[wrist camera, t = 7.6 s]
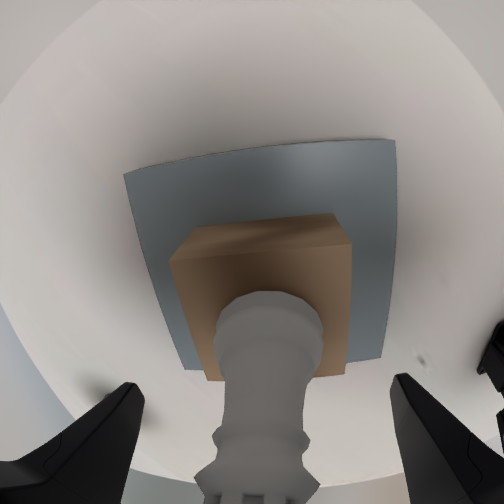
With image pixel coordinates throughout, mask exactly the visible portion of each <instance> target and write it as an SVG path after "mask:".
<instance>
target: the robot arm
mask: <svg viewBox="0 0 504 504" xmlns="http://www.w3.org/2000/svg"><path fill="white" fill-rule="evenodd" d="M486 372H487V374H488V376H489V378H490V379H491V381H492V383H493V385H494V386H495V388H496V390H497V392H501V394H502V396H503V398H504V322H501V323H499V324H498V325H497V327H496V329H495V332H494V334H493V336H492V339H491V341H490V344H489V346H488V348H487V350H486V353H485V355H484V357H483V359H482V361H481V363H480V365H479V367H478V370H477V373H478V374H479V375H481V374H483V373H486ZM390 399H391V405H392V412H393V419H394V427H395V433H396V438H397V442H398V446H399V450H400V454H401V458H402V463H403V467H404V472H405V477H406V482H407V486H408V492H409V498H410V503H411V504H504V458H503V457H502V456H500V455H499V454H497V453H496V452H495V451H493V450H492V449H490V448H489V447H488V446H487V445H486V444H484V443H483V442H482V441H481V440H480V439H479V438H478V437H477V436H476V435H474V434H473V433H472V432H471V431H470V430H469V429H468V428H467V427H466V426H465V425H464V424H462V423H461V422H460V421H459V420H458V419H457V418H456V417H455V416H454V415H453V414H452V413H451V412H449V411H448V410H447V409H446V408H445V407H444V406H443V405H442V404H441V403H440V402H439V401H437V400H436V399H435V398H434V397H433V396H432V395H431V394H430V393H429V392H428V391H427V390H425V389H424V388H423V387H422V386H421V385H420V384H419V383H418V382H417V381H416V380H414V379H413V378H412V377H411V376H410V375H409V374H408V373H400V374H396V375H395V376H394V379H393V382H392V385H391V388H390ZM144 403H145V398H144V395H143V394H142V392H141V391H140V389H139V387H138V386H137V384H135V383H131V382H125V383H123V384H122V385H121V386H120V387H118V388H117V389H116V390H115V391H113V392H112V393H111V394H110V395H108V396H107V397H106V398H104V399H103V400H102V401H101V402H99V403H98V404H97V405H96V406H94V407H93V408H92V409H90V410H89V411H88V412H87V413H85V414H84V415H83V416H81V417H80V418H79V419H77V420H76V421H75V422H74V423H72V424H71V425H70V426H68V427H67V428H66V429H65V430H63V431H62V432H60V433H59V434H58V435H56V436H55V437H54V438H52V439H51V440H50V441H48V442H47V443H45V444H44V445H42V446H40V447H39V448H37V449H35V450H34V451H32V452H31V453H29V454H27V455H25V456H23V457H22V458H20V459H18V460H15V461H0V504H120V503H121V499H122V495H123V491H124V487H125V483H126V479H127V475H128V471H129V468H130V464H131V460H132V457H133V453H134V450H135V446H136V443H137V439H138V435H139V431H140V425H141V419H142V414H143V408H144ZM496 417H497V423H498V428H499V432H500V437H501V442H502V448H503V453H504V409H503V410H502V411H500V412H498V413H497V414H496Z"/></svg>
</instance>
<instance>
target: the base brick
mask: <svg viewBox="0 0 504 504" xmlns="http://www.w3.org/2000/svg"><path fill="white" fill-rule="evenodd" d="M168 261H169V264H170V268H171V272H172V275H173V279H174V282H175V285H176V289H177V292H178V295H179V299H180V302H181V305H182V308H183V312H184V315H185V318H186V321H187V324H188V327H189V330H190V333H191V336H192V339H193V342H194V345H195V348H196V350H197V353H198V356H199V359H200V362H201V364H202V367H203V370H204V372H205V375H206V378H207V380H208V381H225V379H224V378H223V377H222V375H221V372H220V366H219V365H218V364H217V362H216V358H215V352H214V344H213V339H214V337H215V334H216V324H217V321H218V319H219V316H220V314H221V311H222V310H223V309H224V308H225V307H226V306H228V305H229V304H230V303H231V302H232V301H233V300H235V299H236V298H238V297H241V296H244V295H247V294H250V293H253V292H256V291H282V292H285V293H287V294H290V295H293V296H295V297H298V298H301V299H303V300H304V301H305V302H306V303H308V304H309V305H310V306H311V307H312V308H313V309H314V310H315V311H316V312H317V313H318V315H319V318H320V321H321V323H322V326H323V334H322V339H323V341H324V346H323V352H322V358H321V362H320V365H319V366H318V368H317V369H316V370H315V371H314V375H313V378H314V377H325V376H334V375H342V374H344V373H345V365H346V355H347V345H348V333H349V319H350V303H351V277H352V243H351V241H350V240H349V238H348V236H347V235H346V233H345V231H344V230H343V228H342V227H341V225H340V223H339V222H338V220H337V219H336V217H335V215H334V214H333V213H328V214H316V215H305V216H294V217H284V218H274V219H264V220H254V221H245V222H236V223H227V224H218V225H210V226H201V227H195V228H194V230H193V231H192V232H191V233H190V234H189V236H188V237H187V238H186V239H185V241H184V242H183V243H182V244H181V245H180V247H179V248H178V249H177V250H176V252H175V253H174V254H173V255H172V257H171V258H170V259H169V260H168Z"/></svg>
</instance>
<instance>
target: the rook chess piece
mask: <svg viewBox="0 0 504 504" xmlns="http://www.w3.org/2000/svg"><path fill="white" fill-rule="evenodd" d="M322 334H323V326H322V323H321V321H320V318H319V315H318V313H317V312H316V311H315V310H314V309H313V308H312V307H311V306H310V305H309V304H308V303H306V302H305V301H304V300H303V299H301V298H298V297H295V296H293V295H290V294H287V293H285V292H282V291H256V292H253V293H250V294H247V295H244V296H241V297H238V298H236V299H235V300H233V301H232V302H231V303H230V304H229V305H228V306H226V307H225V308H224V309H223V310H222V311H221V314H220V316H219V319H218V321H217V324H216V334H215V337H214V339H213V344H214V352H215V358H216V362H217V364H218V365H219V366H220V372H221V375H222V377H223V378H224V379H225V405H224V415H223V420H222V425H221V426H220V427H218V428H217V429H216V431H215V432H214V433H213V435H212V438H213V441H214V444H215V445H216V447H217V448H218V452H217V456H216V459H215V460H214V461H213V462H211V463H210V464H209V465H207V466H206V467H205V468H203V469H202V470H201V471H199V472H198V473H197V474H196V475H195V477H194V479H195V481H196V482H197V484H198V486H199V487H200V489H201V491H202V492H203V494H204V496H205V498H204V503H203V504H305V503H306V502H307V501H308V500H309V499H310V498H311V496H312V495H313V494H314V493H315V492H316V491H317V489H318V488H319V486H320V483H319V482H318V481H317V480H316V479H315V478H314V477H313V476H312V475H311V474H310V473H309V472H308V471H307V470H306V469H305V468H304V467H303V462H302V454H303V453H304V452H305V451H306V450H307V449H308V447H309V443H310V439H309V437H308V436H307V435H306V433H305V432H304V431H303V414H302V413H303V406H304V398H305V390H306V387H307V384H308V383H309V382H310V380H311V379H312V378H313V375H314V371H315V370H316V369H317V368H318V366H319V365H320V362H321V358H322V352H323V346H324V341H323V339H322Z"/></svg>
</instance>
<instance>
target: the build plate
mask: <svg viewBox="0 0 504 504" xmlns="http://www.w3.org/2000/svg"><path fill="white" fill-rule="evenodd" d="M123 175H124V179H125V184H126V188H127V193H128V197H129V202H130V206H131V210H132V214H133V218H134V222H135V226H136V229H137V233H138V237H139V240H140V244H141V247H142V251H143V254H144V258H145V261H146V264H147V268H148V271H149V274H150V277H151V280H152V283H153V286H154V290H155V293H156V296H157V298H158V301H159V304H160V307H161V310H162V313H163V316H164V318H165V321H166V324H167V326H168V329H169V332H170V334H171V337H172V340H173V342H174V345H175V347H176V350H177V352H178V355H179V357H180V360H181V362H182V364H183V367H184V369H185V370H203V367H202V364H201V362H200V359H199V356H198V353H197V350H196V348H195V345H194V342H193V339H192V336H191V333H190V330H189V327H188V324H187V321H186V318H185V315H184V312H183V308H182V305H181V302H180V299H179V295H178V292H177V289H176V285H175V282H174V279H173V275H172V272H171V268H170V264H169V261H168V260H169V259H170V258H171V257H172V255H173V254H174V253H175V252H176V250H177V249H178V248H179V247H180V245H181V244H182V243H183V242H184V241H185V239H186V238H187V237H188V236H189V234H190V233H191V232H192V231H193V230H194V228H195V227H201V226H210V225H218V224H227V223H236V222H245V221H254V220H264V219H274V218H284V217H294V216H305V215H316V214H328V213H333V214H334V215H335V217H336V219H337V220H338V222H339V223H340V225H341V227H342V228H343V230H344V231H345V233H346V235H347V236H348V238H349V240H350V241H351V243H352V277H351V303H350V319H349V333H348V345H347V355H346V363H350V362H357V361H364V360H370V359H377V358H381V353H382V348H383V343H384V337H385V332H386V326H387V320H388V313H389V306H390V299H391V291H392V282H393V273H394V261H395V248H396V230H397V164H396V146H395V140H387V139H362V140H336V141H319V142H305V143H294V144H283V145H274V146H265V147H257V148H249V149H242V150H235V151H228V152H222V153H216V154H210V155H204V156H199V157H193V158H188V159H183V160H178V161H173V162H168V163H164V164H159V165H155V166H150V167H146V168H142V169H138V170H134V171H131V172H129V173H126V174H123Z"/></svg>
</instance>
